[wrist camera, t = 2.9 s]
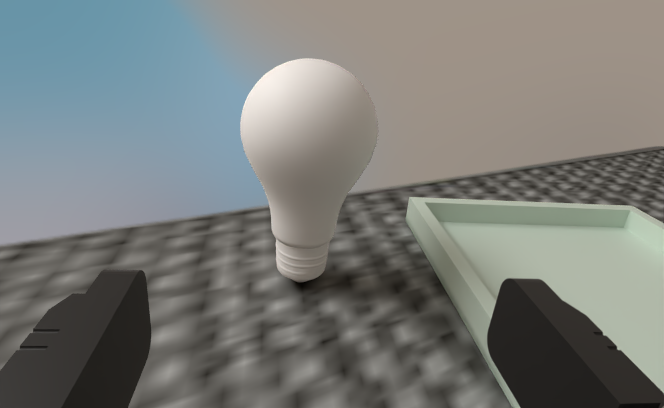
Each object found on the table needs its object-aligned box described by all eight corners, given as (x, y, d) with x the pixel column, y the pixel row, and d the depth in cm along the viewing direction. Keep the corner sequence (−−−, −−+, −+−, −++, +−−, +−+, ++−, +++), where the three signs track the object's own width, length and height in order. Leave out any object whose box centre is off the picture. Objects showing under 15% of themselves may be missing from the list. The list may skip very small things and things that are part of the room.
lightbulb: (256, 244, 26) (259, 47, 21) (359, 255, 25) (384, 59, 21) (224, 307, 20) (220, 58, 16) (357, 323, 20) (389, 74, 15)
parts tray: (623, 227, 32) (632, 205, 32) (925, 421, 17) (955, 388, 16) (405, 220, 30) (409, 197, 30) (527, 434, 15) (541, 396, 14)
